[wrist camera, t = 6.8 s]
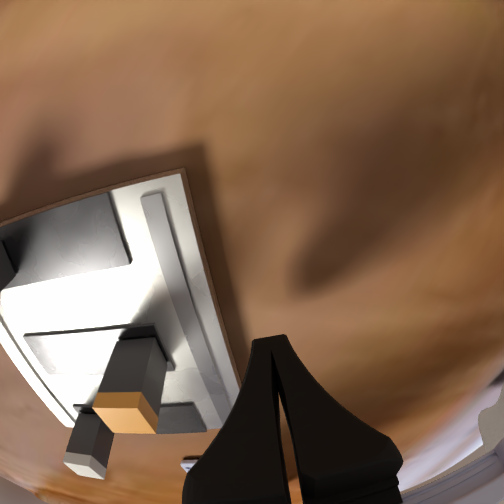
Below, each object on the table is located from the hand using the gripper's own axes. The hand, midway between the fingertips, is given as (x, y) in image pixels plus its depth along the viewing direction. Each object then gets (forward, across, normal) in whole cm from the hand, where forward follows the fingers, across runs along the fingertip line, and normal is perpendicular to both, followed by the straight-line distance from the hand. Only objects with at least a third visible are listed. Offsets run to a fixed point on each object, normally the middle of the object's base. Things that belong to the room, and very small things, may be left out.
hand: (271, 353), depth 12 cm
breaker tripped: (+1, +6, 0) cm, 6 cm away
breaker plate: (+3, +9, 0) cm, 9 cm away
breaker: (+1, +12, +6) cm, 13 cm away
